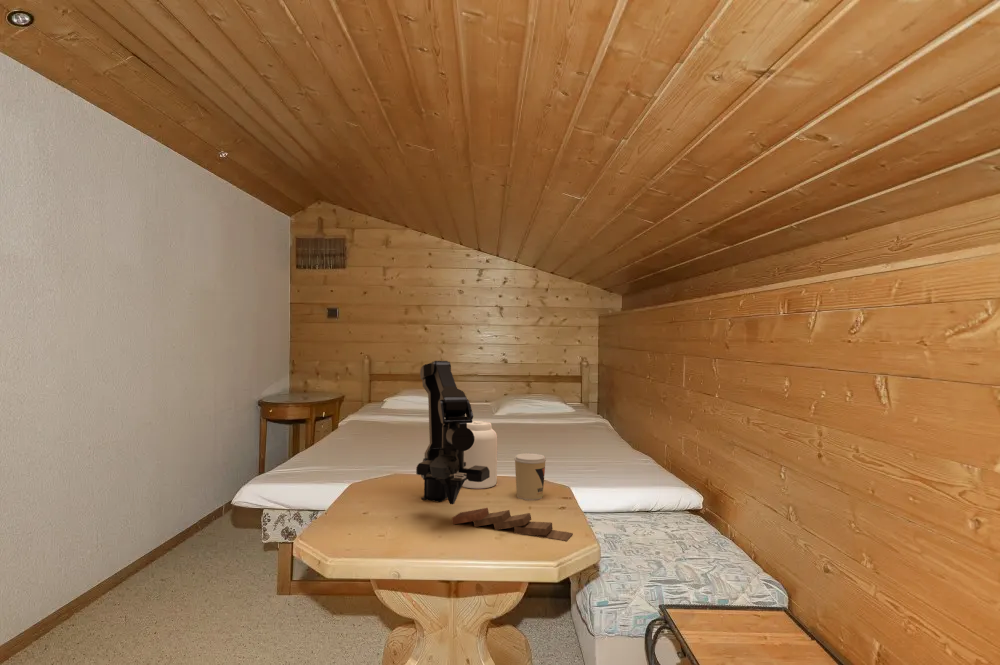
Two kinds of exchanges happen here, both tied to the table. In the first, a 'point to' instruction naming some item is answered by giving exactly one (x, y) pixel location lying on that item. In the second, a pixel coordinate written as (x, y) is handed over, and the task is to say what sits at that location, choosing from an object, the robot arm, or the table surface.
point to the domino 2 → (493, 518)
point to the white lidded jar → (482, 453)
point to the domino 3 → (513, 521)
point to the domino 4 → (534, 528)
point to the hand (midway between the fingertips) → (452, 504)
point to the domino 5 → (557, 535)
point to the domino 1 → (470, 516)
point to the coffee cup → (530, 475)
